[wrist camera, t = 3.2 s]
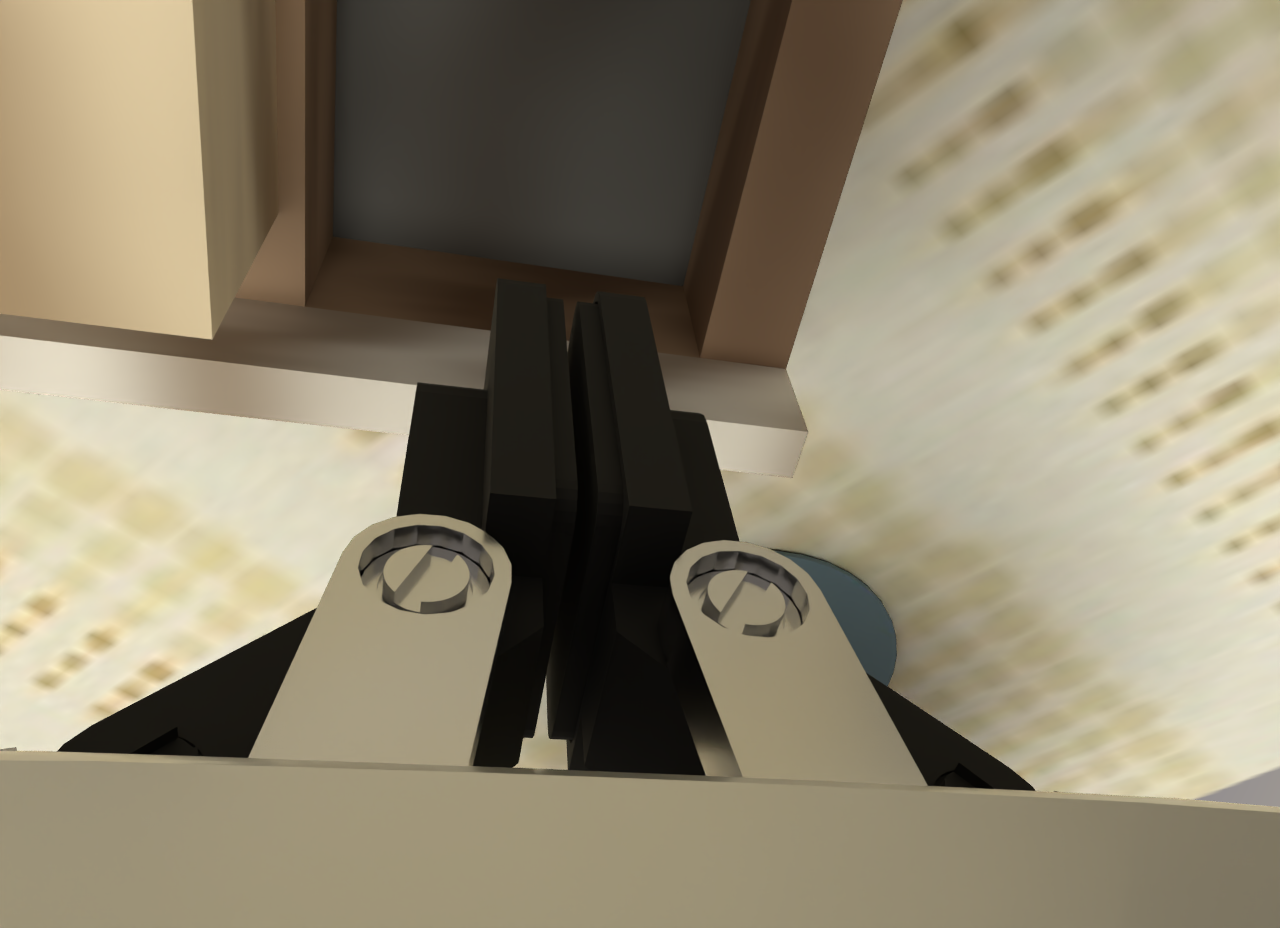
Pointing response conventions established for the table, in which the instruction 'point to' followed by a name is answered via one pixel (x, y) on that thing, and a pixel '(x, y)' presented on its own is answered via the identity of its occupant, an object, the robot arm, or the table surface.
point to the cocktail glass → (855, 615)
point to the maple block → (135, 158)
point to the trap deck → (520, 207)
